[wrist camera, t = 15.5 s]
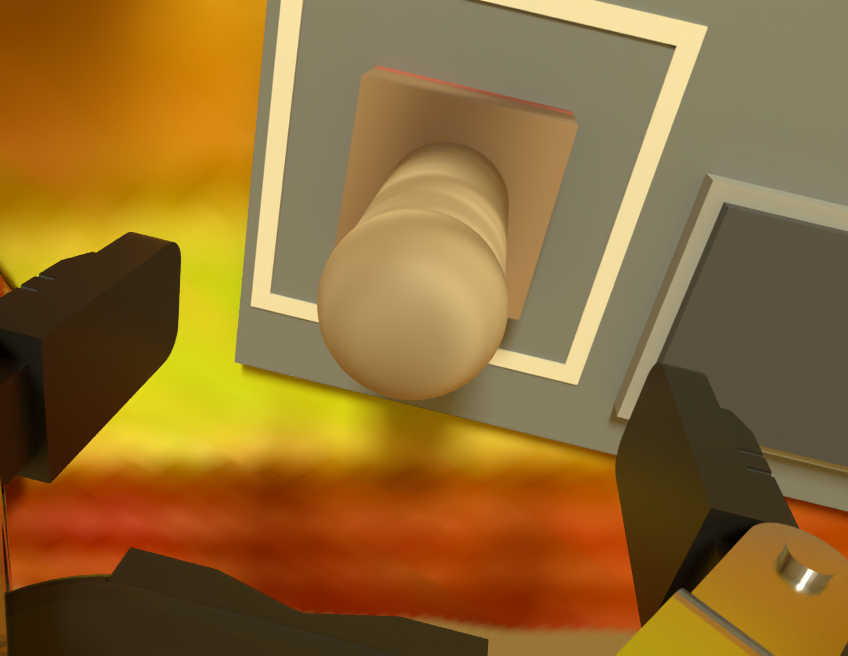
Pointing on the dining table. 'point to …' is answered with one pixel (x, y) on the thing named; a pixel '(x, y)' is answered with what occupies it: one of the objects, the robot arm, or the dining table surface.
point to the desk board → (599, 207)
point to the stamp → (437, 229)
